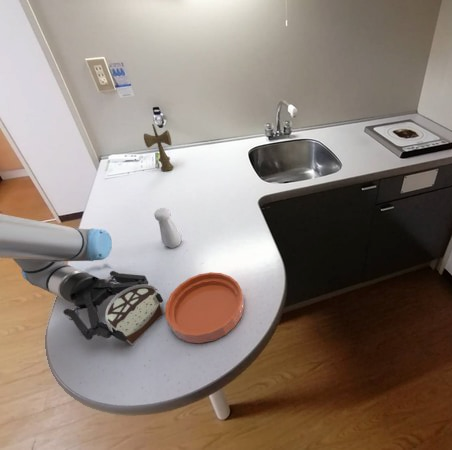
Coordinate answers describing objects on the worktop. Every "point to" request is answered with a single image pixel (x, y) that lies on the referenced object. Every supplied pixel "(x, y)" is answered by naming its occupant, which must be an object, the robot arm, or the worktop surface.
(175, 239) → the salt shaker
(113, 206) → the worktop surface
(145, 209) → the worktop surface
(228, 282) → the bowl
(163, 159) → the kendama
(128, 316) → the food container
